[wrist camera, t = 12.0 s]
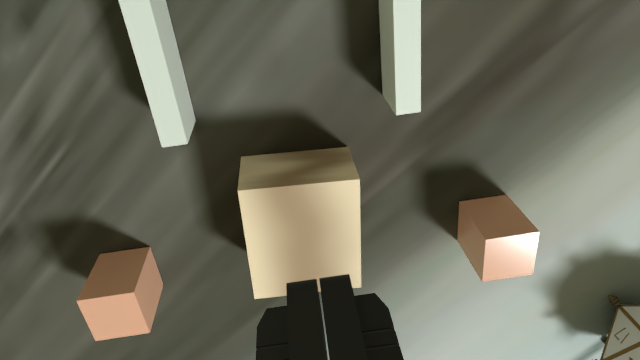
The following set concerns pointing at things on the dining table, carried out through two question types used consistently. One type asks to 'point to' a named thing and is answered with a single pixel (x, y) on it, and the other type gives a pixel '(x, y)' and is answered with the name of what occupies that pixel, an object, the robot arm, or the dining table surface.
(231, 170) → the dining table surface
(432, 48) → the dining table surface
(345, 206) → the maple block
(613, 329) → the game die
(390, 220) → the dining table surface
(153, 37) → the white blocks
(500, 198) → the gate posts
